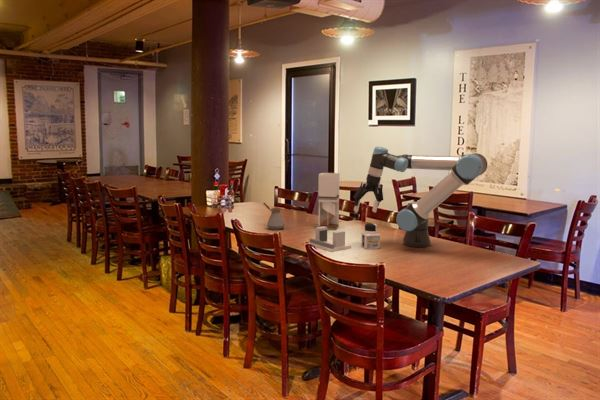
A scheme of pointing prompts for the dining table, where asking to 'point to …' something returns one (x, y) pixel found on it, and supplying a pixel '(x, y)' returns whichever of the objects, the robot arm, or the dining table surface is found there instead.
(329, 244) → the rail board
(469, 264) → the dining table surface
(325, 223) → the grey dispenser tower
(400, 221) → the robot arm
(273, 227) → the coffee pot
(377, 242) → the container
